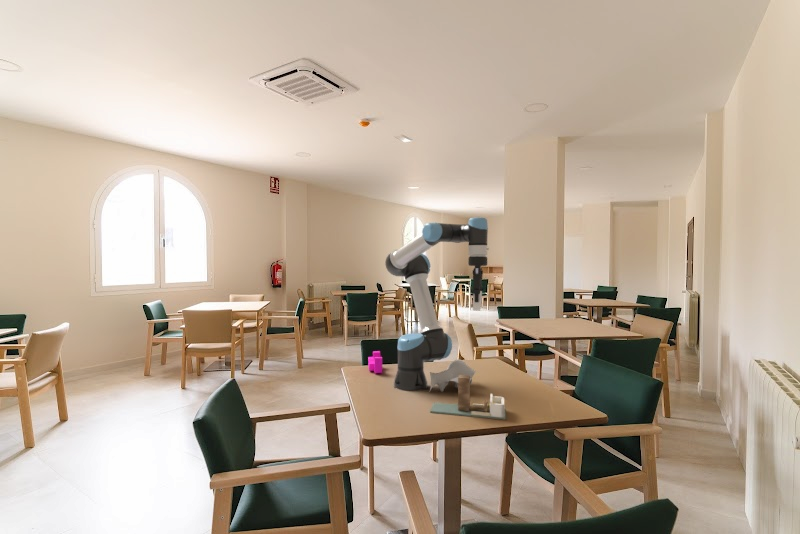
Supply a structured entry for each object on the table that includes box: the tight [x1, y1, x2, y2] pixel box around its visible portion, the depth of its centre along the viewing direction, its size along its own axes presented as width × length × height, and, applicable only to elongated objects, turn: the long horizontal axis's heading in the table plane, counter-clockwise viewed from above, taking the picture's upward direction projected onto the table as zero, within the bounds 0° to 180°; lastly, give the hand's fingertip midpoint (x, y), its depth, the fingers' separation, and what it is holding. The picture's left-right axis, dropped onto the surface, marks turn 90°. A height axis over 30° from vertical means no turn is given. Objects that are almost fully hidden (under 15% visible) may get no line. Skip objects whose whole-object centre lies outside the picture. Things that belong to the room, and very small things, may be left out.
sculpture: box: [428, 359, 477, 393], centre depth 178 cm, size 25×19×10 cm
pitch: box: [429, 401, 507, 421], centre depth 148 cm, size 27×9×2 cm, turn 76°
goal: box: [489, 393, 505, 418], centre depth 145 cm, size 5×9×5 cm, turn 166°
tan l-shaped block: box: [457, 375, 489, 413], centre depth 148 cm, size 10×6×12 cm, turn 76°
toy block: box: [367, 350, 383, 374], centre depth 206 cm, size 15×6×8 cm, turn 7°
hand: (477, 308), depth 161 cm, fingers open, 13 cm apart
